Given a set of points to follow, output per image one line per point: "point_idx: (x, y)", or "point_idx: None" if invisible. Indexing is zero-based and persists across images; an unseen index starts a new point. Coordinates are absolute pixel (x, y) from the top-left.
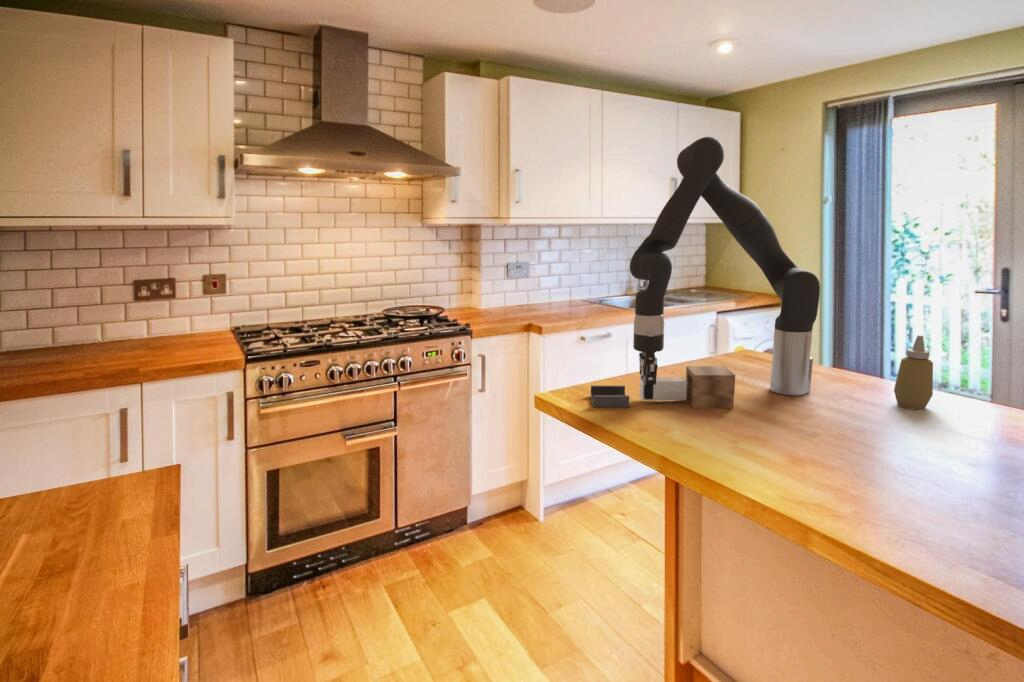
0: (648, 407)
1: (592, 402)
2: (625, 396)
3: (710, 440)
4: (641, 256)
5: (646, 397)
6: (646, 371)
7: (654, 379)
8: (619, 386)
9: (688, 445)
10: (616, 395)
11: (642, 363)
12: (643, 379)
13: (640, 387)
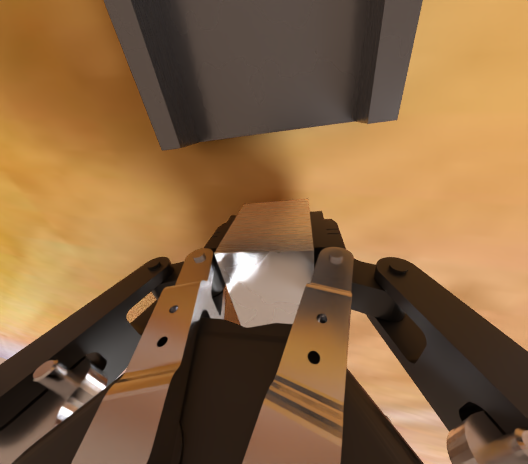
0: (222, 213)
1: None
2: (156, 127)
3: (75, 290)
4: None
5: (223, 224)
6: (64, 336)
7: (141, 315)
8: (376, 73)
9: (23, 258)
10: (149, 59)
11: (109, 399)
12: (264, 260)
13: (301, 218)
